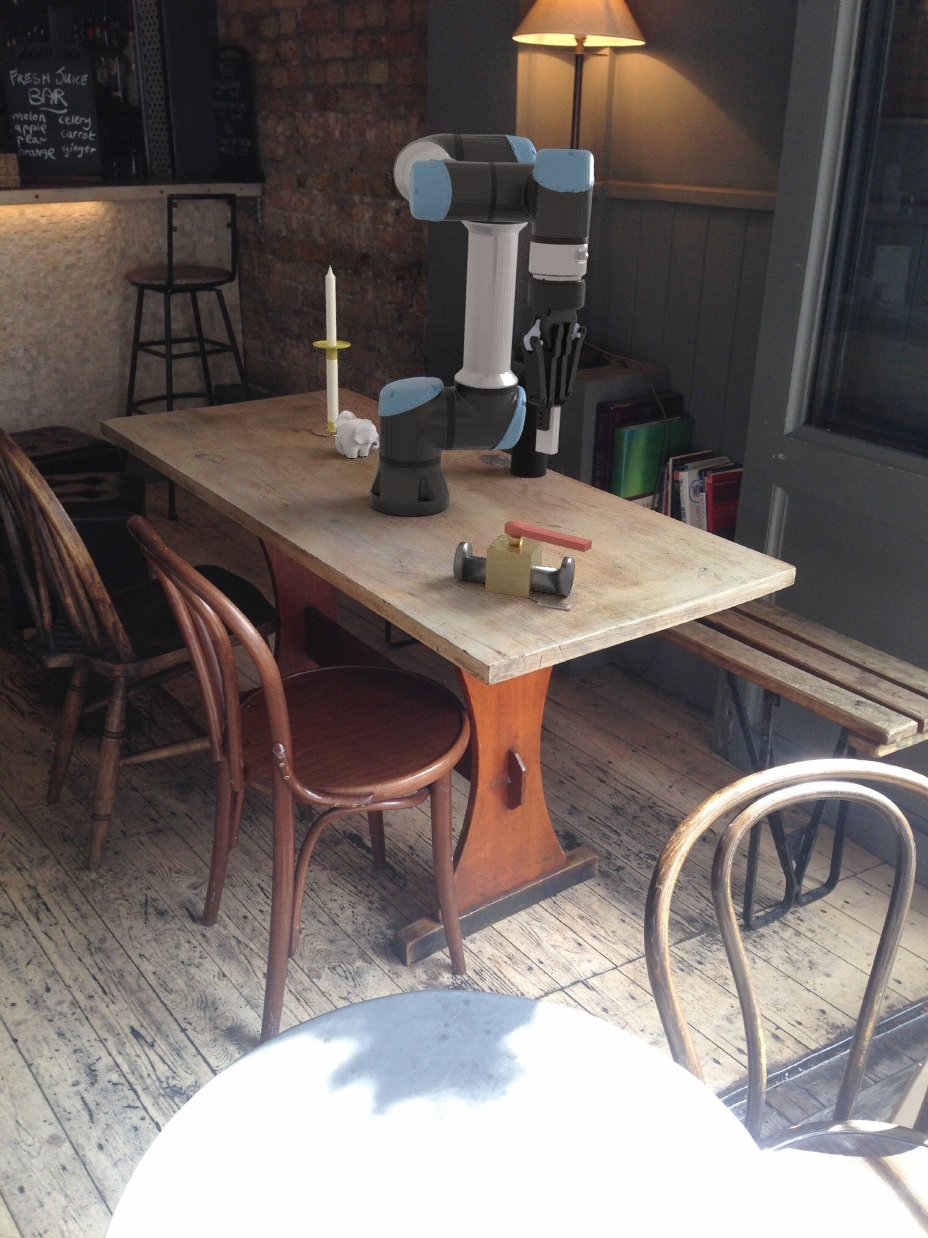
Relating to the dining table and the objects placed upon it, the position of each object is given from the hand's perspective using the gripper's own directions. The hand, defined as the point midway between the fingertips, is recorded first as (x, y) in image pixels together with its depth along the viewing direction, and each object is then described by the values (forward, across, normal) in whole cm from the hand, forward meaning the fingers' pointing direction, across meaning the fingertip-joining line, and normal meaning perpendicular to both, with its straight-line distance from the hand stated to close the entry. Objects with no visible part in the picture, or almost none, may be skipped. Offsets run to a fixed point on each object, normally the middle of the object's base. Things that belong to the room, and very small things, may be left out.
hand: (546, 451), depth 153 cm
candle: (+25, +53, +96) cm, 113 cm away
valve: (+24, +5, +7) cm, 26 cm away
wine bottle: (+25, +59, +44) cm, 77 cm away
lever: (+15, +6, +3) cm, 17 cm away
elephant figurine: (+25, +44, +79) cm, 93 cm away
